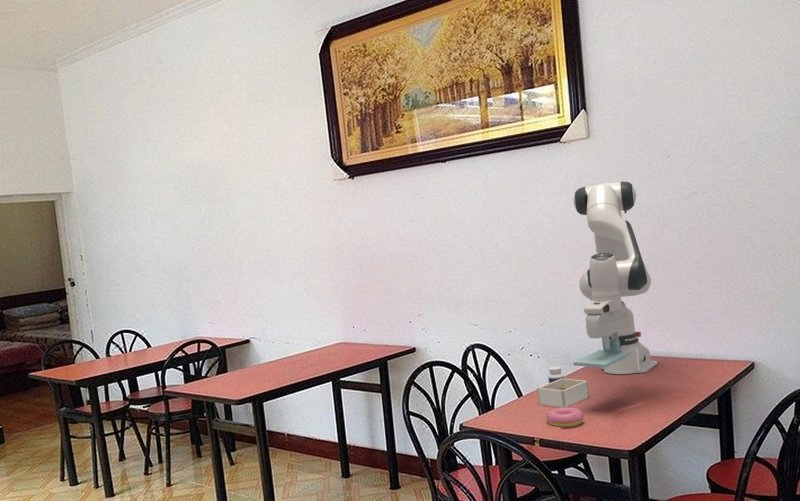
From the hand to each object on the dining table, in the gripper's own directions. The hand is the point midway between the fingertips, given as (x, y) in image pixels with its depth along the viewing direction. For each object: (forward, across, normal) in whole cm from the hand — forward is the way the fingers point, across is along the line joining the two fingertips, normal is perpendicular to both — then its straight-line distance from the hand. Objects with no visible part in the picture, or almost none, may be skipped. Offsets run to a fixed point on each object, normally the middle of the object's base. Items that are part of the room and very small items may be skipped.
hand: (611, 347), depth 226 cm
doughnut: (+19, +24, -3) cm, 31 cm away
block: (+18, +3, -16) cm, 24 cm away
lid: (+3, +6, 0) cm, 6 cm away
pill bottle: (+18, -3, -25) cm, 31 cm away
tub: (+18, +6, -16) cm, 25 cm away
